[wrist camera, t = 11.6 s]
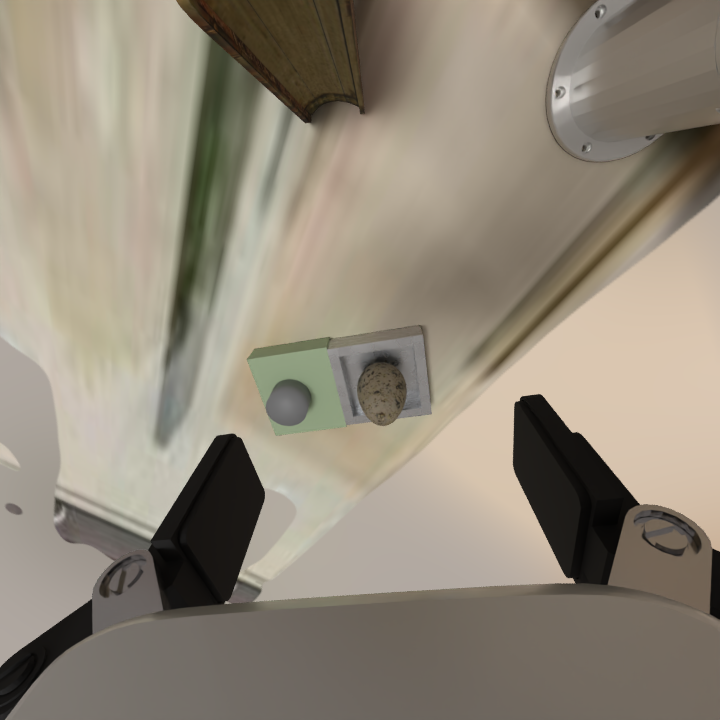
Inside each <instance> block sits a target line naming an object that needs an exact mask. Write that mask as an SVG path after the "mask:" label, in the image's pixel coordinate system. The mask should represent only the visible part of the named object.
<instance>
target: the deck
mask: <svg viewBox="0 0 720 720" xmlns="http://www.w3.org/2000/svg"><path fill="white" fill-rule="evenodd" d="M329 340H330V338H329V337H327V338H321V339H315V340H308V341H302V342H296V343H289V344H283V345H277V346H270V347H264V348H258V349H254V351H253V352H252V353H251V355H250V356H249V357H248V359H247V361H248V364H249V366H250V369H251V372H252V374H253V377H254V380H255V382H256V385H257V387H258V390H259V393H260V395H261V398H262V401H263V403H264V406H265V408H266V411H267V414H268V416H269V419H270V422H271V424H272V427H273V429H274V432H275V435H276V436H277V435H285V434H293V433H301V432H309V431H317V430H325V429H333V428H341V427H347V425H346V422H345V418H344V414H343V411H342V407H341V403H340V399H339V395H338V391H337V387H336V383H335V379H334V375H333V371H332V368H331V364H330V360H329V356H328V352H327V347H328V344H329Z"/></svg>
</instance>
